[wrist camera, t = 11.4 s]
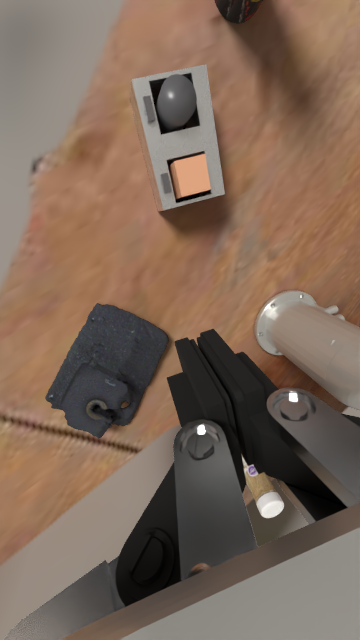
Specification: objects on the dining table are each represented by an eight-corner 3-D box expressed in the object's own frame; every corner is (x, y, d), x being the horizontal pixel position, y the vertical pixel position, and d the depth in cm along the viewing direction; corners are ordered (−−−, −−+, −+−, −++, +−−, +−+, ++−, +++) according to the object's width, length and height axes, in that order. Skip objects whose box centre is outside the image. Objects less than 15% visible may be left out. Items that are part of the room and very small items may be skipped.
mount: (193, 87, 31) (207, 61, 25) (211, 197, 36) (226, 193, 31) (129, 100, 30) (131, 76, 25) (157, 211, 35) (164, 210, 30)
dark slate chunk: (181, 333, 43) (188, 346, 39) (123, 428, 48) (123, 448, 44) (96, 293, 38) (93, 303, 33) (39, 405, 42) (30, 426, 38)
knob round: (181, 93, 29) (192, 70, 25) (188, 132, 31) (199, 117, 26) (149, 100, 29) (155, 78, 24) (158, 139, 30) (165, 125, 26)
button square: (193, 162, 32) (205, 153, 28) (198, 193, 34) (210, 189, 29) (166, 169, 32) (174, 161, 27) (173, 199, 33) (181, 196, 29)
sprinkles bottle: (243, 437, 56) (278, 498, 43) (253, 446, 58) (289, 508, 45) (227, 449, 56) (257, 513, 44) (237, 458, 58) (269, 522, 46)
